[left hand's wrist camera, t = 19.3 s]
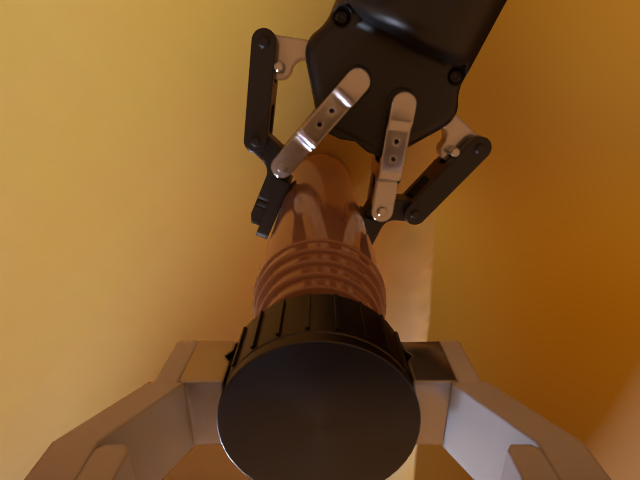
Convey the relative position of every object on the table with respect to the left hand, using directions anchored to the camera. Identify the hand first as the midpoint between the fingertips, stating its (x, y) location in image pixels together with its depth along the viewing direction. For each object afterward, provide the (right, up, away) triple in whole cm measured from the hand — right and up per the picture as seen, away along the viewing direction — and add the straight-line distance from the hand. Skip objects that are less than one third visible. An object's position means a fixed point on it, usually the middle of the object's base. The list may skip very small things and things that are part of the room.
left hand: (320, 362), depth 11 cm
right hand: (-1, +3, +14) cm, 14 cm away
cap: (0, -1, -2) cm, 2 cm away
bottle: (0, +7, +19) cm, 21 cm away
